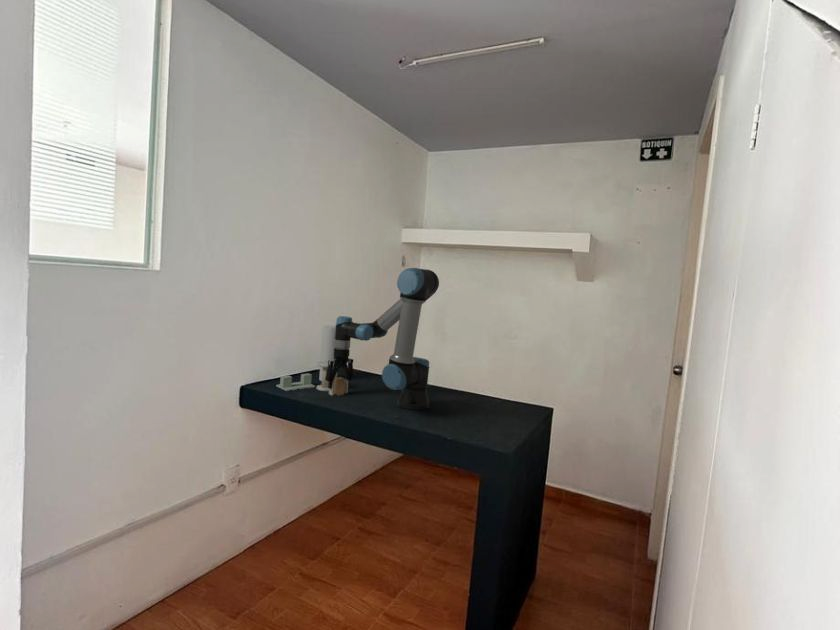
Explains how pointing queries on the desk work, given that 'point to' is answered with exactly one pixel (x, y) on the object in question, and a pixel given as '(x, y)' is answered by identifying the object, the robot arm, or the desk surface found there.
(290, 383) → the terminal board
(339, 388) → the brown wooden block
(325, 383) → the bobbin
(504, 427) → the desk surface
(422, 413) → the desk surface
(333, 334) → the cylinder container
